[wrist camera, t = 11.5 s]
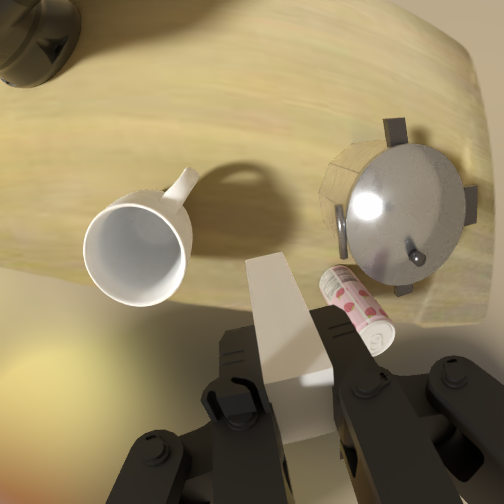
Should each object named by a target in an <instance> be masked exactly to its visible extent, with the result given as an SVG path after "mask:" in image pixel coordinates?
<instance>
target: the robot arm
mask: <svg viewBox="0 0 504 504" xmlns="http://www.w3.org/2000/svg"><path fill="white" fill-rule="evenodd" d="M80 28H81V17H80V13H79V10H78V8H77V7H76V6H75V4H73V3H72V2H71V1H69V0H0V78H1V80H2V81H3V82H4V83H6V84H7V85H9V86H12V87H18V88H32V87H35V86H38V85H40V84H42V83H44V82H45V81H47V80H48V79H50V78H51V77H52V76H53V75H54V74H56V73H57V72H58V71H59V70H60V68H61V67H62V66H63V65H64V64H65V62H66V61H67V60H68V58H69V57H70V55H71V53H72V51H73V50H74V47H75V45H76V43H77V40H78V37H79V34H80ZM245 265H246V271H247V278H248V284H249V291H250V297H251V304H252V310H253V317H254V323H255V325H251V326H247V327H242V328H237V329H232V330H228V331H225V334H224V335H223V337H222V338H221V340H220V342H219V355H220V357H219V365H220V366H219V378H217V379H216V380H214V381H212V382H211V383H210V384H209V385H208V386H207V387H206V389H205V390H204V391H203V394H202V397H201V402H202V404H203V406H204V408H205V410H206V411H207V413H208V415H209V417H210V419H211V421H210V422H208V423H207V424H206V425H205V426H203V427H201V428H199V429H197V430H194V431H192V432H189V433H186V434H184V435H181V436H177V435H175V434H174V433H173V432H169V431H167V430H154V431H151V432H148V433H145V434H144V435H142V436H141V437H139V438H138V439H137V440H136V441H135V443H134V444H133V446H132V447H131V449H130V452H129V454H128V456H127V458H126V460H125V462H124V464H123V466H122V469H121V471H120V473H119V475H118V477H117V479H116V482H115V484H114V486H113V488H112V491H111V493H110V495H109V497H108V499H107V501H106V504H295V500H294V495H293V490H292V486H291V480H290V475H289V470H288V465H287V461H286V457H285V454H284V449H283V444H287V443H291V442H296V441H300V440H305V439H309V438H313V437H317V436H320V435H324V434H328V433H331V432H335V431H336V428H335V424H336V427H337V430H338V433H339V436H340V459H344V460H345V464H346V467H347V470H348V473H349V476H350V479H351V482H352V485H353V488H354V492H355V495H356V498H357V501H358V504H463V502H462V500H461V498H460V496H461V497H462V498H463V499H464V500H465V501H466V502H467V503H468V504H504V385H502V384H501V383H500V382H499V381H497V380H496V379H495V378H493V377H492V376H491V375H490V374H488V373H487V372H486V371H484V370H483V369H482V368H480V367H479V366H478V365H476V364H475V363H474V362H472V361H471V360H469V359H467V358H464V357H460V356H448V357H444V358H442V359H440V360H438V361H436V363H435V364H434V365H433V366H432V367H431V370H430V373H428V374H421V375H412V376H398V375H393V374H392V373H391V372H389V370H387V369H385V368H383V367H380V366H378V364H377V363H376V362H375V360H374V358H373V356H372V355H371V353H370V351H369V350H368V348H367V346H366V345H365V343H364V341H363V340H362V338H361V336H360V335H359V333H358V332H357V330H356V328H355V326H354V325H353V323H352V321H351V320H350V318H349V316H348V315H347V313H346V312H345V311H344V310H342V309H341V308H339V307H338V306H336V305H334V304H333V305H329V306H325V307H322V308H318V309H314V310H310V311H308V308H307V306H306V304H305V302H304V299H303V297H302V295H301V293H300V290H299V288H298V286H297V284H296V281H295V279H294V277H293V275H292V273H291V270H290V268H289V266H288V264H287V261H286V259H285V257H284V255H283V253H282V252H278V253H273V254H269V255H265V256H260V257H256V258H252V259H247V260H245Z"/></svg>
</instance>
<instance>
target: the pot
mask: <svg viewBox="0 0 504 504" xmlns="http://www.w3.org/2000/svg"><path fill="white" fill-rule="evenodd" d="M383 123H384V129H385V136H386V141H382V140H375V141H367V142H359V143H352V144H351V145H349V146H348V147H347V148H346V149H345V150H344V151H342V152H341V153H340V154H339V155H338V156H337V157H335V158H334V159H333V160H332V161H331V162H330V163H329V165H328V168H327V170H326V173H325V176H324V179H323V181H322V184H321V187H320V190H319V199H320V205H321V212H322V219H323V223H324V224H325V225H326V226H327V227H328V229H329V230H330V231H331V232H332V234H333V235H334V236H335V237H336V239H337V240H338V234H337V226H336V217H335V209H334V205H336V204H342V205H343V213H344V210H345V205H346V200H347V197H348V194H349V191H350V189H351V186H352V184H353V182H354V180H355V179H356V177H357V175H358V174H359V172H360V171H361V170H362V168H363V167H364V166H365V164H367V163H368V162H369V161H370V160H371V159H372V158H373V157H374V156H375V155H377V154H378V153H379V152H381V151H383V150H385V149H387V148H389V147H392V146H394V145H398V144H404V143H408V137H407V130H406V123H405V118H389V119H383ZM347 251H348V252H349V253H350V251H349V249H348V246H347ZM350 254H351V253H350ZM412 289H413V283H412V284H408V285H401V286H394V294H395V295H396V296H397V297H399V296H402V295H405V294H408V293H411V292H412Z"/></svg>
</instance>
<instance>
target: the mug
mask: <svg viewBox="0 0 504 504" xmlns="http://www.w3.org/2000/svg"><path fill="white" fill-rule="evenodd" d="M198 179H199V174H198V173H197V171H196V170H194V169H193V168H191V167H187V168H186V169H185V170H184V171H183V173H182V174H181V176H180V177H179V178H178V180H177V181H176V182H175V183H174V184H173V185H172V186H171V187H170V188H169V189H168V190H167V191H166V192H163V191H160V190H153V189H152V190H150V189H149V190H148V189H146V190H139V191H135V192H133V193H129V194H127V195H124V196H123V197H121V198H119V199H118V200H116V201H115V202H113V203H112V204H111V205H109V206H108V207H107V208H106V209H104V210H103V211H102V212H100V213H99V214H98V215H97V216H96V217H95V218H94V219H93V221H92V222H91V224H90V225H89V227H88V230H87V232H86V235H85V239H84V247H83V254H84V260H85V264H86V267H87V270H88V272H89V274H90V276H91V278H92V279H93V281H94V282H95V284H96V285H97V286H98V287H99V288H100V289H101V290H102V291H103V292H104V293H105V294H107V295H108V296H109V297H111V298H113V299H114V300H117V301H118V302H121V303H124V304H127V305H131V306H140V307H141V306H151V305H155V304H158V303H160V302H162V301H164V300H166V299H167V298H169V297H170V296H171V295H173V294H174V293H175V292H176V290H177V289H178V288H179V286H180V285H181V283H182V281H183V278H184V276H185V273H186V269H187V267H188V262H189V260H190V255H191V249H192V242H193V238H192V237H193V233H192V226H191V222H190V218H189V215H188V214H187V211H186V210H185V208H184V207H183V203H184V202H185V200H186V198H187V196H188V195H189V193H190V192H191V190H192V189H193V187H194V186H195V184H196V183H197V181H198Z"/></svg>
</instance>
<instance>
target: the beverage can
mask: <svg viewBox="0 0 504 504" xmlns="http://www.w3.org/2000/svg"><path fill="white" fill-rule="evenodd" d="M319 287H320V290H321V292H322V294H323V296H324V298H325V300H326V301H327V303H328V305H333V304H334V305H336V306H338V307H339V308H341V309H342V310H344V311H345V312H346V313H347V315H348V316H349V318H350V320H351V321H352V323H353V325H354V326H355V328H356V330H357V332H358V333H359V335H360V336H361V338H362V340H363V341H364V343H365V345H366V346H367V348H368V350H369V351H370V353H371V355H372V356H376V355H379V354H381V353H382V352H384V351H385V350H386V349H387V348H388V347H389V346H390V345H391V343H392V341H393V340H394V336H395V327H394V325H393V322H392V321H391V319H390V318H389V317H388V315H387V314H386V313H385V311H384V310H383V309H382V308H381V306H380V305H379V304H378V303H377V301H376V300H375V299H374V298H373V296H372V295H371V294H370V293H369V291H368V290H367V289H366V288H365V286H364V285H363V284H362V283H361V281H360V280H359V279H358V278H357V276H356V275H355V274H354V273H353V272H352V270H351V269H350V268H348V267H346V266H343V265H337V266H334V267H331V268H329V269H328V270H327V271H326V272H325V273H324V274H323V275H322V277H321V279H320V284H319Z"/></svg>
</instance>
